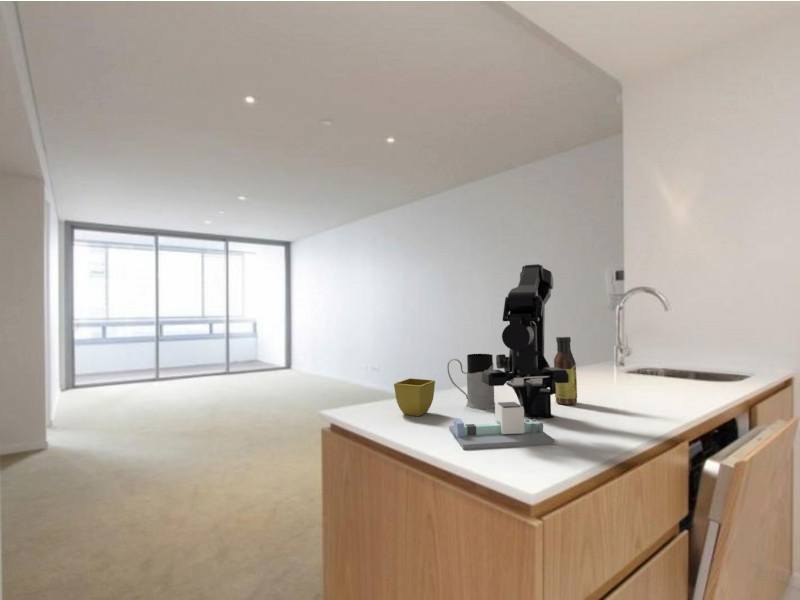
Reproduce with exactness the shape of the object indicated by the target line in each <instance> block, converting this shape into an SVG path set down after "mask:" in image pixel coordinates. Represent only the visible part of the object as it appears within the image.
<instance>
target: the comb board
mask: <svg viewBox="0 0 800 600" xmlns="http://www.w3.org/2000/svg"><path fill="white" fill-rule="evenodd" d="M452 421H453V425H449V426H448V430H449V432H450V433H451V435H452V436H453V438H454V439H455V440H456V442H457V443H458V444H459V445H460V447H461V448H462V449H463V450H475V449H476V450H479V449H492V448H509V447H511V448H512V447H529V446H531V447H532V446H547V445H548V446H549V445H556V439H555V438H553V436H551V435H549V434H548V433H546V432H545V431H544V423H542V422H539V421H537V418H531V420H530V419H524V433H517V434H502V433H501V423H495V422H494V423H480V424H479V423H477V424H474V423H470V424H465V423H464V422H463V420H461V418H453V419H452Z"/></svg>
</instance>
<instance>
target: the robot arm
mask: <svg viewBox="0 0 800 600" xmlns="http://www.w3.org/2000/svg"><path fill="white" fill-rule="evenodd" d="M552 290H554V276H553V273H552V271H550V270H548V269H546V268H544V266H543V265H542V264H539V263H538V264H537V263H536V264H525V265H523V266H522V268H521V272H520V273H519V281H518V285H517V287H513V288H511V289H510V291H509V292H508V294H507V296H505V298H504V305H503V313H502V322H509V324H508V325H506V326H505V328H504V329H503V331H502V333H501V339H502V342H503V344H504V346H505V347H506V348H508V349H509V356H506V354H503V353H502V354H501V353H500V354H496V355H495V356H496V357H495V364H496V365H495V366H496V369H494V370H484V372H483V373H482V382H483V383H485V384H487V385H489V386H494V387H499V386H503V387H504V385H507V386H508V387H510V388H512V390H513V391H514V394H515V395H516V396H517V399H518V404H519V405H520V406H522V407H524V416H526V417H528V418H529V419H548V418H550V419H551V418H554V417H555V416H554V414H553V413H552V403H551V402H552V401H551V400H552V397H551V396H553V395H555V394H556V383H569V374H568V372H567V371H566V370H564V369H561V368H558V367H554V366H553V367H551V366H550V364H549V363H548V361H547V359H546V357H545V324H546V323H545V314H546V313H545V311H546V310H545V309H546V308H545V307H546V304H547V302H548V301H549V300H550V298H551V296H552V295H551V294H552ZM501 369H504V370H503V371H502V370H501ZM555 382H556V383H555Z"/></svg>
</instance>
